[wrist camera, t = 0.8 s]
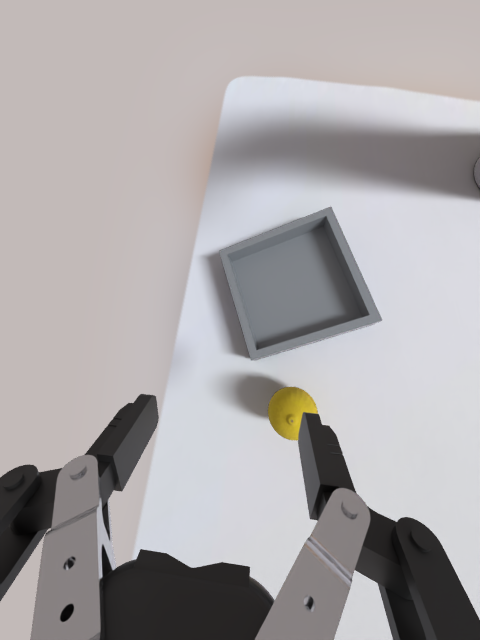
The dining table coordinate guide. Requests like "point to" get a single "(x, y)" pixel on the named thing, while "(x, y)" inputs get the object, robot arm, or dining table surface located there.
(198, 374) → the dining table surface
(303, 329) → the tray
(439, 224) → the dining table surface
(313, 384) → the dining table surface
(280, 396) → the lemon
